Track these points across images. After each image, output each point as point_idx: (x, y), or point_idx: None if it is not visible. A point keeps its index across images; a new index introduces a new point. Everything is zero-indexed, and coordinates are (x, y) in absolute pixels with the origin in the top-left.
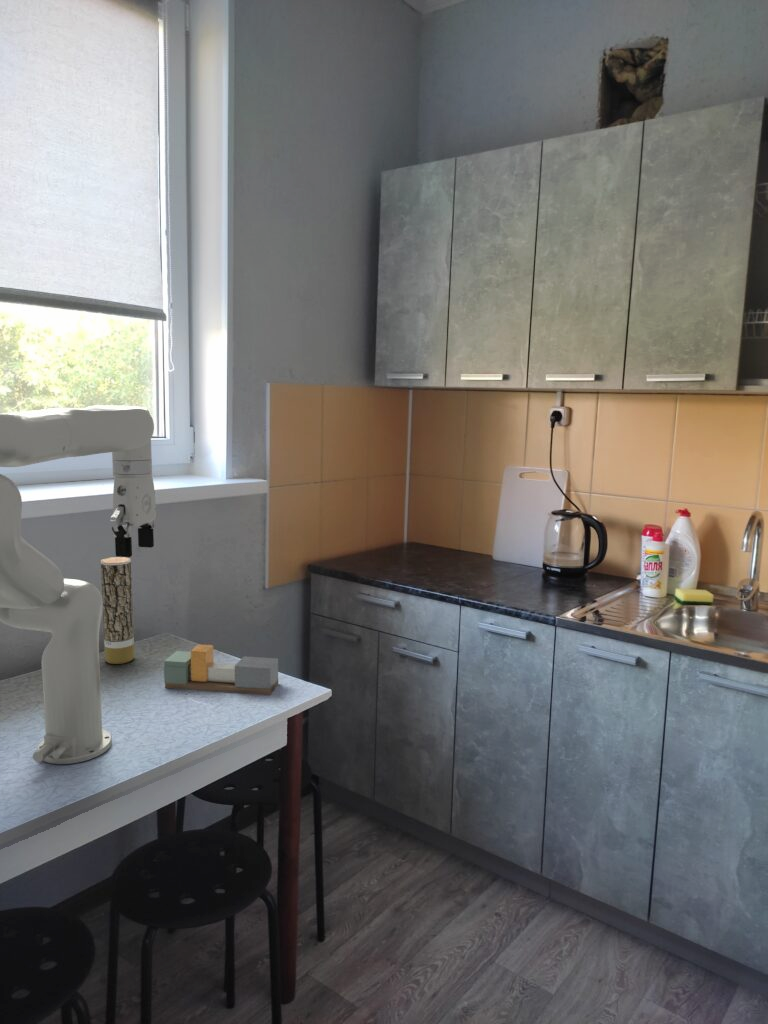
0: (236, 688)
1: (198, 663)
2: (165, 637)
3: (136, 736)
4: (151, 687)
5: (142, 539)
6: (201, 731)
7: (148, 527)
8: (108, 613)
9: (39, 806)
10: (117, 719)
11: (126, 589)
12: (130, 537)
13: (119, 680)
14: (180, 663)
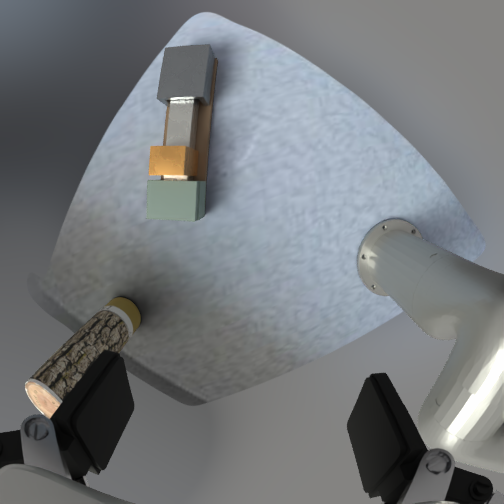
0: (211, 103)
1: (190, 162)
2: (50, 281)
3: (363, 198)
4: (206, 235)
5: (116, 418)
6: (343, 120)
7: (71, 444)
8: None
9: (472, 239)
10: (318, 240)
11: (73, 356)
12: (420, 447)
13: (188, 289)
14: (197, 191)
